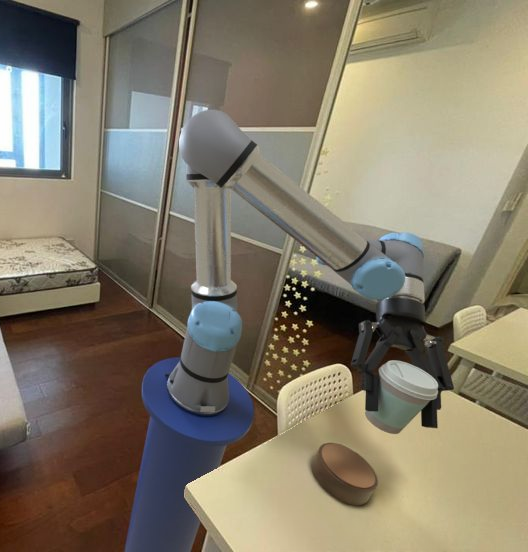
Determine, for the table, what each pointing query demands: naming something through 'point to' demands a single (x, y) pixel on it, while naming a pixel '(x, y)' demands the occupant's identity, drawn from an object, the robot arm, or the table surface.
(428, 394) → the coffee cup
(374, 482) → the cup stand
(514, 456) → the table surface
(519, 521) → the table surface
